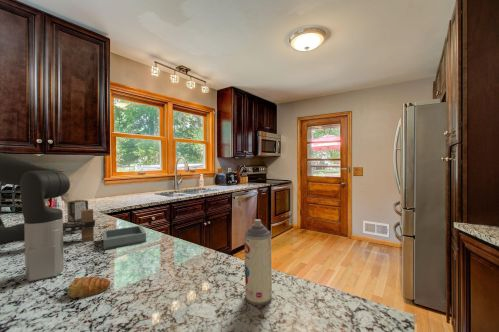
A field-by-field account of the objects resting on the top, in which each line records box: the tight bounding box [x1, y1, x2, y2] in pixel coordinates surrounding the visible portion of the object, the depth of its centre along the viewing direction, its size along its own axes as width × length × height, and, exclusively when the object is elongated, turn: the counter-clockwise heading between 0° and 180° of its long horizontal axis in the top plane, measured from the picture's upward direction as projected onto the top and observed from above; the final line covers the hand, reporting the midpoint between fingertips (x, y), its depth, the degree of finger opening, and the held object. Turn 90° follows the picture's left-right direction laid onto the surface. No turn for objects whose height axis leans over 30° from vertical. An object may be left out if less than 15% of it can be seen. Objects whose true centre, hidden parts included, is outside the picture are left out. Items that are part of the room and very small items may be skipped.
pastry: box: [67, 275, 112, 299], centre depth 63 cm, size 9×7×4 cm
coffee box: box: [66, 199, 89, 234], centre depth 121 cm, size 9×6×16 cm
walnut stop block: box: [81, 208, 95, 243], centre depth 105 cm, size 4×4×14 cm
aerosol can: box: [244, 218, 273, 307], centre depth 58 cm, size 7×7×20 cm
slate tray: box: [102, 225, 147, 251], centre depth 104 cm, size 16×16×4 cm
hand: (94, 222), depth 107 cm, fingers closed on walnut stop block, 4 cm apart
